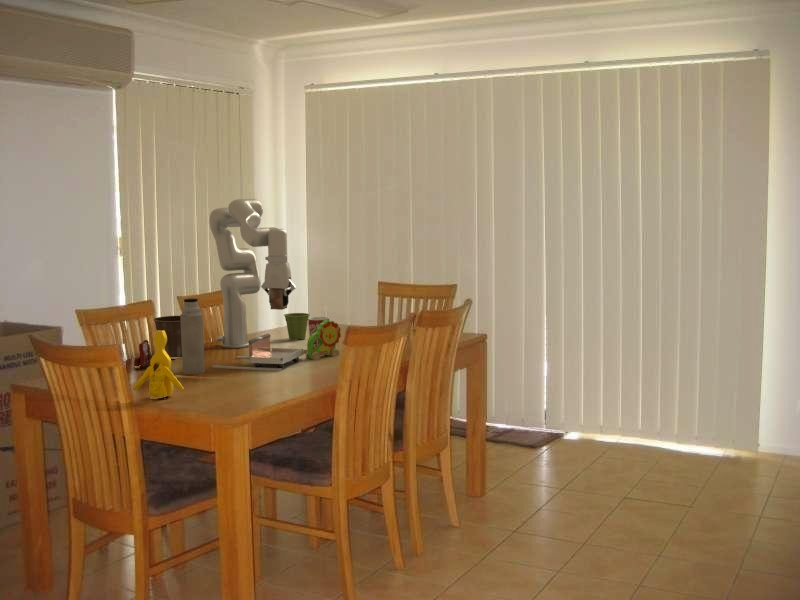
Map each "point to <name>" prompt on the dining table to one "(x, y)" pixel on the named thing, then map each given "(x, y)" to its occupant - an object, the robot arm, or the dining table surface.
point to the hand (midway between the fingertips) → (278, 304)
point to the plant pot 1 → (171, 334)
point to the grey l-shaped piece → (270, 352)
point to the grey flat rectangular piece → (249, 367)
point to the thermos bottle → (192, 338)
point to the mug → (315, 327)
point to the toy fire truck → (144, 354)
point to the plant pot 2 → (296, 325)
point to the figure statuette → (159, 370)
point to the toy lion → (324, 340)
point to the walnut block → (277, 299)
